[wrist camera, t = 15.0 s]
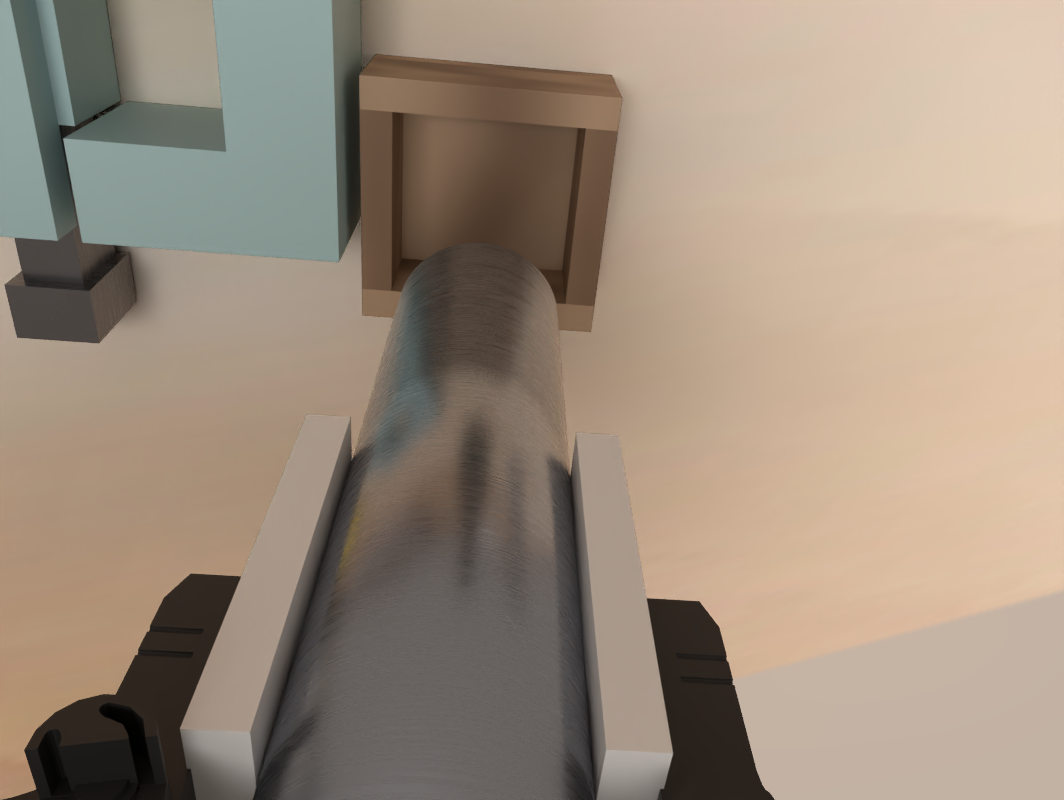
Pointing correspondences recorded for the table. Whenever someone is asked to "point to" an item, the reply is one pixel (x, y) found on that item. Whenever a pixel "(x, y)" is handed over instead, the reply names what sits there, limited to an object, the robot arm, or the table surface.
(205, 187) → the chuck block
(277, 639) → the robot arm
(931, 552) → the table surface
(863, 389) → the table surface
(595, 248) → the brown wooden tray
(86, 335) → the block
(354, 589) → the cylinder
